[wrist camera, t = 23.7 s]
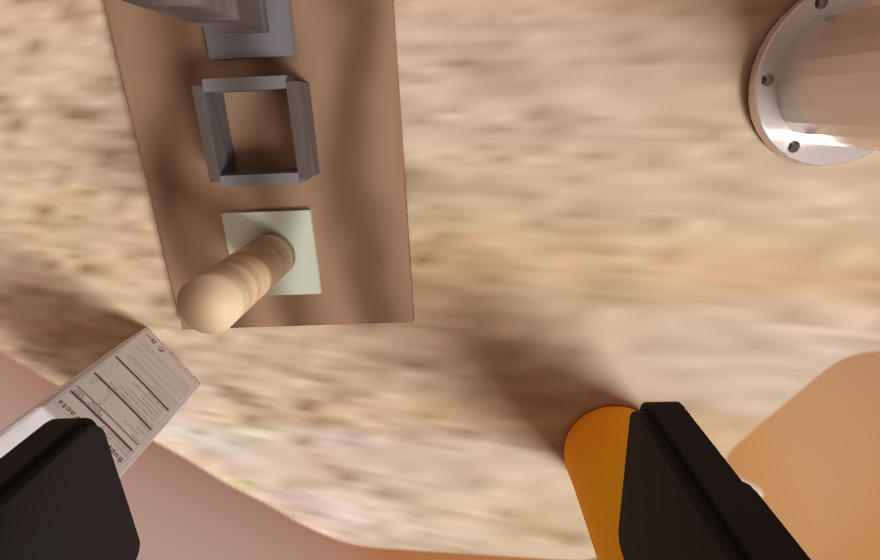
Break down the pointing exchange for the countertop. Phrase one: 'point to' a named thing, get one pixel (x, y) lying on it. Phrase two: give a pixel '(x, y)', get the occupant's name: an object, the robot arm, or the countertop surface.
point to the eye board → (275, 146)
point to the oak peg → (234, 284)
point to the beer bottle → (599, 473)
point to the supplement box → (117, 398)
